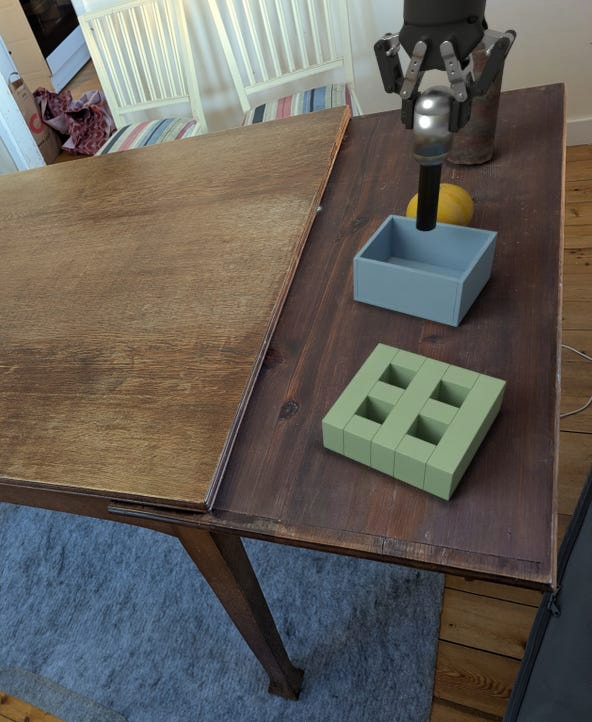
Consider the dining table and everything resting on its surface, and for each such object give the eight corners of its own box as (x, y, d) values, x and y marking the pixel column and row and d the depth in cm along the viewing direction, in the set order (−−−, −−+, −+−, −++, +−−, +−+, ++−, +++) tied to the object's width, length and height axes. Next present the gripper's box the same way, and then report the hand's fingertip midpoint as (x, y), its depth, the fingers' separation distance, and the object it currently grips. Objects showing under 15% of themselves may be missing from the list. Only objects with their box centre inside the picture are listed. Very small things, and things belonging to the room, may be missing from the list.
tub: (490, 277, 85) (498, 232, 80) (456, 327, 80) (463, 282, 75) (388, 256, 94) (390, 214, 89) (353, 300, 89) (353, 258, 84)
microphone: (450, 220, 79) (466, 78, 67) (436, 238, 77) (450, 97, 65) (416, 214, 82) (425, 77, 70) (401, 232, 80) (408, 95, 68)
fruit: (397, 245, 95) (400, 200, 89) (415, 216, 98) (418, 172, 93) (460, 254, 90) (466, 207, 84) (476, 223, 93) (483, 176, 88)
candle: (464, 175, 102) (479, 53, 89) (432, 161, 108) (442, 44, 95) (502, 157, 103) (523, 33, 90) (468, 144, 109) (483, 25, 95)
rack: (499, 410, 70) (506, 381, 67) (448, 501, 64) (453, 474, 61) (378, 370, 79) (379, 342, 75) (323, 446, 73) (321, 420, 70)
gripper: (545, -61, 56) (514, 116, 68) (391, -45, 65) (387, 109, 77) (515, -30, 53) (488, 150, 65) (358, -18, 62) (359, 138, 74)
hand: (433, 127), depth 71 cm, fingers closed on microphone, 4 cm apart
